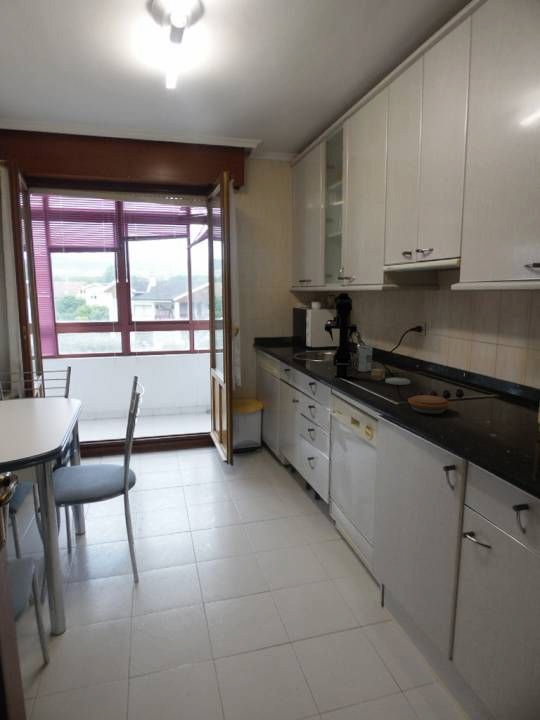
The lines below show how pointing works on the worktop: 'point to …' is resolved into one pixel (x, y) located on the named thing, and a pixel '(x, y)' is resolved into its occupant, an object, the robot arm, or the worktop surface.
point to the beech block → (378, 374)
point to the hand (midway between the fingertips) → (340, 340)
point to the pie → (428, 404)
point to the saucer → (397, 381)
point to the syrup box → (364, 358)
